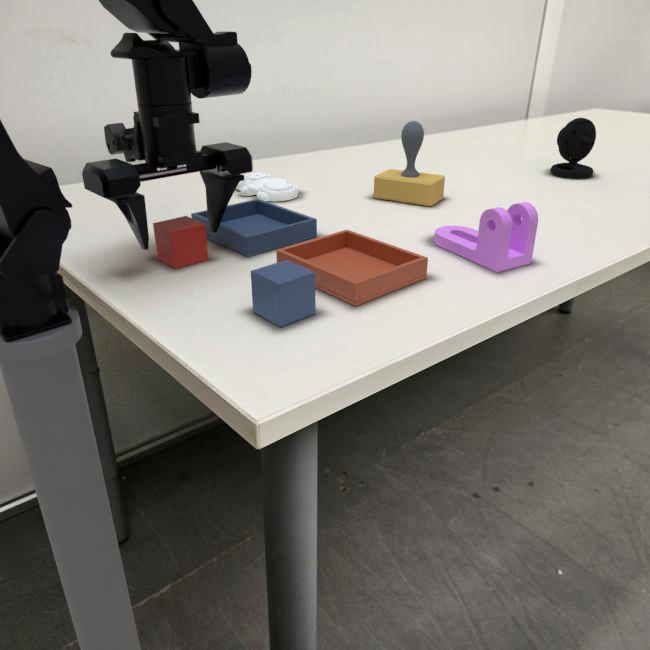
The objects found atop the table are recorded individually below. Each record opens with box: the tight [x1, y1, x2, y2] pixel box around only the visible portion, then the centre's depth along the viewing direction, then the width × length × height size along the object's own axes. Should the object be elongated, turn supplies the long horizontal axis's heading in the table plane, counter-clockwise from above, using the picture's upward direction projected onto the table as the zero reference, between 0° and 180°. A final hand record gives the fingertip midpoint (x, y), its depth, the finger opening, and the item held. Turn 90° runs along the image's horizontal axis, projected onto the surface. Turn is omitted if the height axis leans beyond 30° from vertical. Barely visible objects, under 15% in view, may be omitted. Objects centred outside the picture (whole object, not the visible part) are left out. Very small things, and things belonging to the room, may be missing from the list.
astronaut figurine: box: [235, 171, 300, 202], centre depth 101 cm, size 9×12×3 cm
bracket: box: [434, 201, 539, 273], centre depth 75 cm, size 13×6×7 cm, turn 31°
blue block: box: [250, 260, 317, 328], centre depth 60 cm, size 4×4×4 cm
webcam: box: [550, 117, 597, 179], centre depth 111 cm, size 8×8×10 cm
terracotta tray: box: [275, 229, 429, 307], centre depth 69 cm, size 11×13×2 cm
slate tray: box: [190, 198, 318, 257], centre depth 82 cm, size 11×13×2 cm
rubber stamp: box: [373, 120, 446, 207], centre depth 96 cm, size 10×6×12 cm, turn 60°
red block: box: [152, 215, 210, 270], centre depth 73 cm, size 4×4×4 cm
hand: (180, 240), depth 73 cm, fingers open, 9 cm apart
